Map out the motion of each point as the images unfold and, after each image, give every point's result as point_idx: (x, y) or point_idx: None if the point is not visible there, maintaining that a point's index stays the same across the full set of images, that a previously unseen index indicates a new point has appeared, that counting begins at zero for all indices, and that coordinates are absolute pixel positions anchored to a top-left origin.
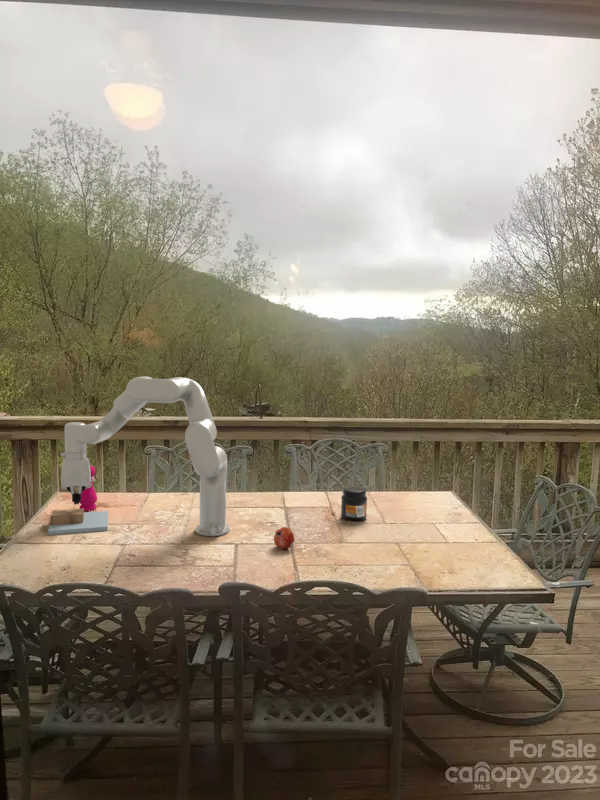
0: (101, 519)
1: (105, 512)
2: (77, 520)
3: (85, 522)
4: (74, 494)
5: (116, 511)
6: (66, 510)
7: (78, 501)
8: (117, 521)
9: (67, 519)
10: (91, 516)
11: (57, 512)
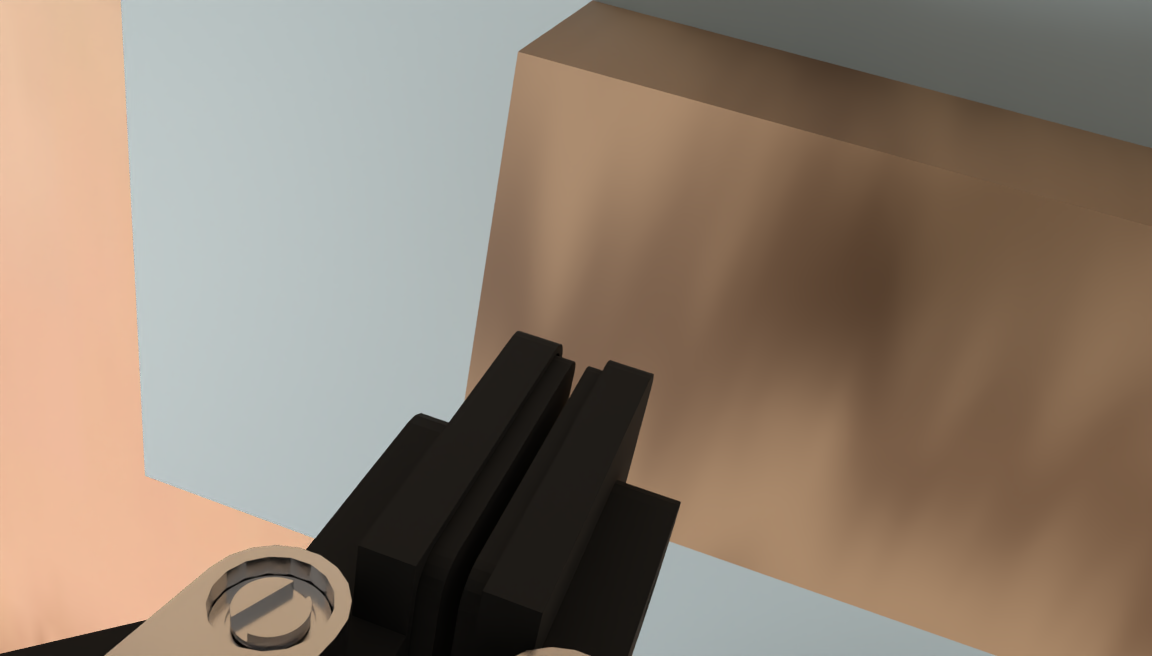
0: (229, 53)
1: (178, 419)
2: (690, 48)
3: (536, 4)
4: (522, 602)
5: (85, 502)
6: (838, 531)
7: (489, 367)
8: (25, 11)
9: (923, 120)
10: (395, 334)
11: (1097, 501)
